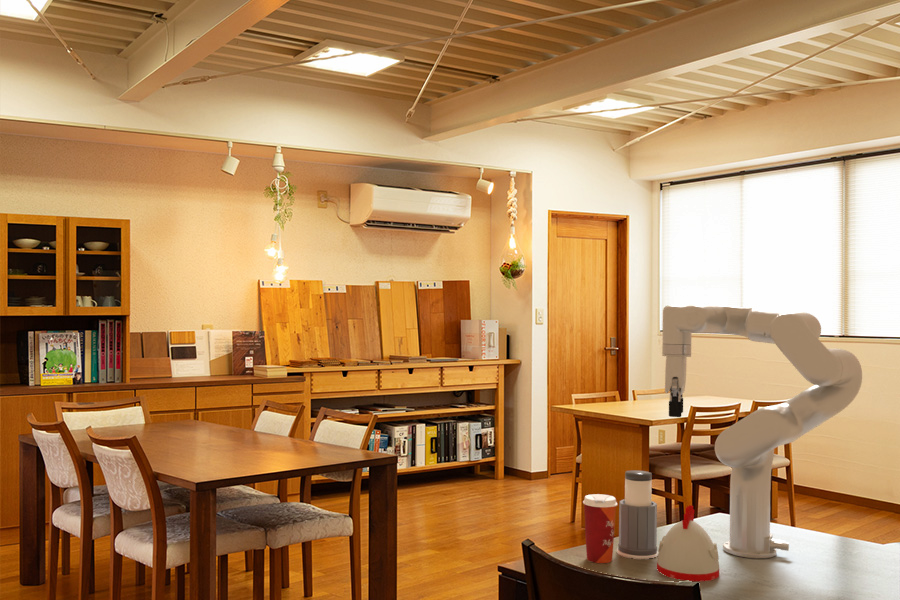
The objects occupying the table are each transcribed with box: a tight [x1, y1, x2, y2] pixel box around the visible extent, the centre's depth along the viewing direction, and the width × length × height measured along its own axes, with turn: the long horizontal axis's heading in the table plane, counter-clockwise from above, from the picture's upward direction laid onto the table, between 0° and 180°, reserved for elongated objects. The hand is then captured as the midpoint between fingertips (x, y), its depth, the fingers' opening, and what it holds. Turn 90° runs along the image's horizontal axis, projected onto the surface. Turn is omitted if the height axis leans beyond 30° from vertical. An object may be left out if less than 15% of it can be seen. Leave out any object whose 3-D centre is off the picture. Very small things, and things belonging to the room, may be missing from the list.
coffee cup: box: [582, 493, 618, 564], centre depth 201 cm, size 8×8×15 cm
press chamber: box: [616, 498, 659, 560], centre depth 206 cm, size 10×10×12 cm
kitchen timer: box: [656, 504, 720, 582], centre depth 193 cm, size 14×14×15 cm
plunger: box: [624, 469, 653, 506], centre depth 206 cm, size 6×6×17 cm
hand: (676, 414), depth 224 cm, fingers open, 9 cm apart
